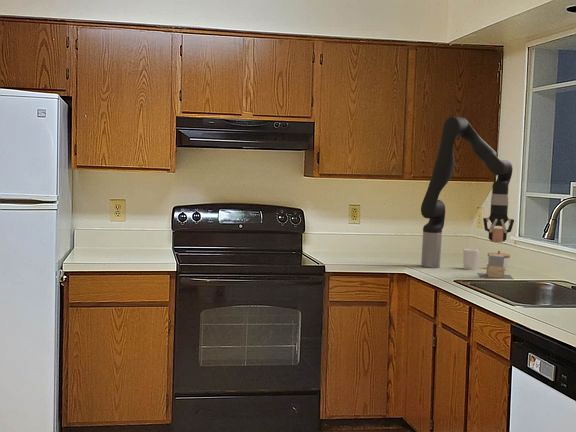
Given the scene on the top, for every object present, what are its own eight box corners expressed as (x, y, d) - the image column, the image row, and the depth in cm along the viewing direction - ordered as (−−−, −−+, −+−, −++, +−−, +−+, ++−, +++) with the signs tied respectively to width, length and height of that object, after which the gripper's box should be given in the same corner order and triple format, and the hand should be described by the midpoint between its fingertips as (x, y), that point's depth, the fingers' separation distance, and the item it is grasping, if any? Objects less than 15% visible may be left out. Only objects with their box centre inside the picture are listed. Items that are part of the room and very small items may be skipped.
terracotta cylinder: (490, 240, 345) (491, 227, 345) (502, 241, 344) (503, 228, 344) (492, 242, 340) (492, 229, 339) (503, 242, 339) (504, 229, 339)
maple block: (486, 274, 348) (487, 263, 347) (501, 275, 347) (502, 264, 346) (488, 276, 341) (488, 266, 340) (504, 277, 340) (504, 266, 339)
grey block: (488, 264, 347) (488, 254, 346) (501, 264, 346) (502, 255, 345) (489, 265, 341) (490, 256, 340) (503, 266, 340) (504, 256, 339)
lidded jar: (511, 269, 372) (512, 250, 371) (506, 272, 362) (507, 253, 362) (490, 267, 377) (491, 248, 376) (484, 269, 368) (485, 250, 367)
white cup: (458, 269, 367) (460, 248, 366) (472, 268, 370) (473, 248, 369) (468, 271, 360) (469, 251, 359) (482, 271, 362) (483, 250, 361)
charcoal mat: (476, 274, 351) (476, 272, 351) (509, 276, 349) (509, 274, 349) (479, 279, 338) (480, 277, 338) (514, 281, 336) (514, 279, 336)
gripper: (514, 204, 343) (512, 240, 345) (482, 202, 345) (480, 239, 347) (517, 205, 336) (514, 242, 337) (484, 203, 338) (482, 241, 339)
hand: (497, 240), depth 342 cm, fingers closed on terracotta cylinder, 5 cm apart
